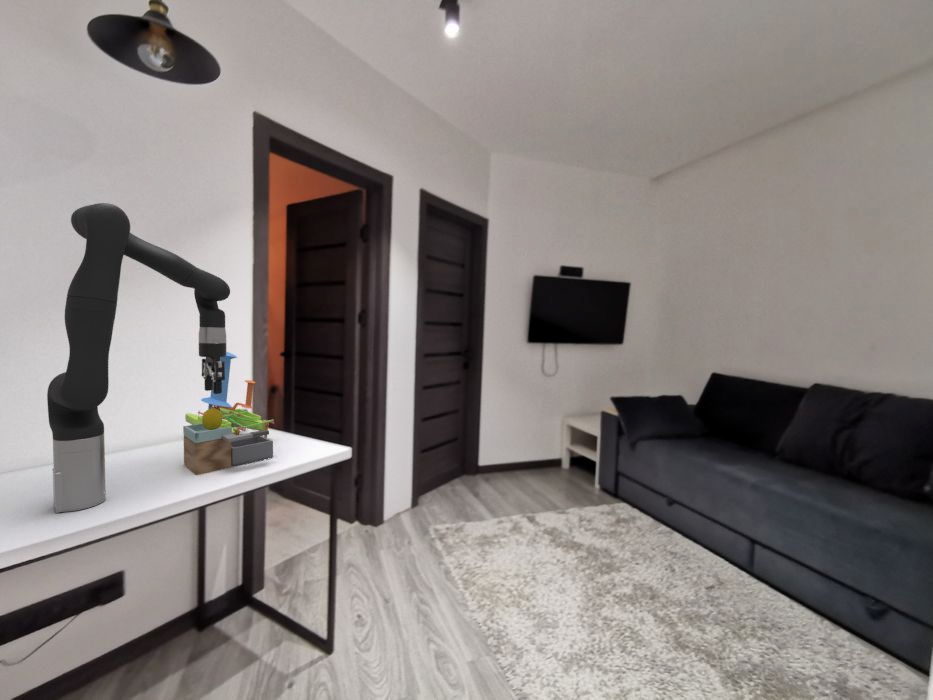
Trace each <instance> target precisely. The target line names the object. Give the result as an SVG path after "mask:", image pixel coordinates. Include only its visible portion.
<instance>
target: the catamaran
mask: <svg viewBox="0 0 933 700" xmlns="http://www.w3.org/2000/svg"><path fill="white" fill-rule="evenodd" d="M237 358H238V356H237V355H235V354H233V353H231V352H229V351H226V356H224V357H220V361H224V362H225V364H224V365H225V380H223V381H221V382H222V393H221V394H214V393H213V390H210V396H208V397H204V398H203V397H202V398H201V399H200V401H201V402H203V403H204V404H205V403H206V404H208V405H207V406H208V407H207V410H208V409H210V408H212V407H213V408H214V409H217V410H219V411H220V412H221V414H222V424H221V426H220V428H227V427H232V434H234V435H240V433H241V431H243V432H246V431H247V430H246V429H249V430H251V431H252V430H253V431H261V430H268V431H269V426H270V424H273V425H275V422H274V421H275V420H274V419H273V418H272V419H269V420H268V419H265V420H262V416H261V415H259V414H256V413H253V412H249V410H244V409H254V408H253V406H252V402H253V393H254V391H253V389H254V385H255V384H256V382H255V381H254V380H250V379H246V380H244V382H245V383H246V385H247V386H246V396H245V404H244V403H241V402H236V403H234V405H233V406H232V405H231V404H230V403H229V402H228V401H227V399H228V390H229V381H230V372H231V364H232V360H233V359H237ZM218 377H219V376H218ZM238 406H241V408H244V409H241V408H237V407H238ZM204 413H205V411H204V412H201V411H200V410H198V412H197V414H193V413H191V412H190V413H189V412H187V413H185V417H184V419H185V422H186V423H188V424H189V425H195V424H201V423H202V418H203V414H204ZM232 424H233V425H236V426H234V427H233V426H232ZM263 437H265V438H268V435H263Z"/></svg>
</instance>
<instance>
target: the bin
mask: <svg viewBox="0 0 933 700" xmlns="http://www.w3.org/2000/svg"><path fill="white" fill-rule="evenodd" d="M272 457H273V458H274V441H273V440H272V439H271V438H268V437H267V438H265V437H264V435H263V436H258V437H253V438H248V439H242V440H237V441H232V442H231V468H234V466H235V467H238V465H239V466H243V464H244V465H247V463H248V464H252V462H253V463H256V462H255V461H257V462H261V461H260V460H262V461H265V460H264V459H266V460H269V459H268V458H271V459H273V458H272Z"/></svg>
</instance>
